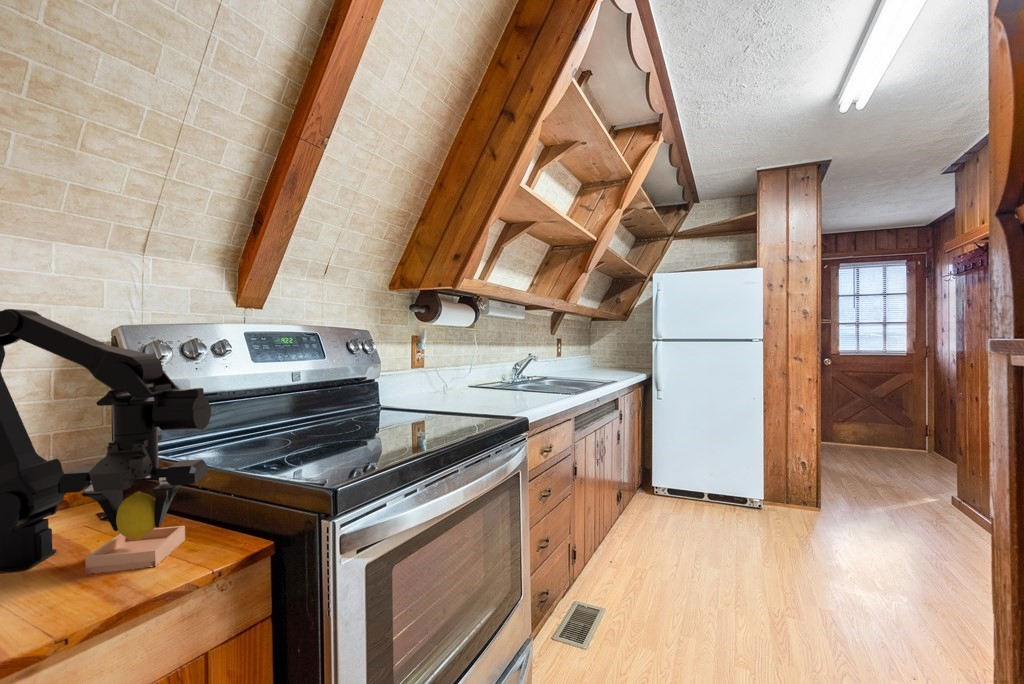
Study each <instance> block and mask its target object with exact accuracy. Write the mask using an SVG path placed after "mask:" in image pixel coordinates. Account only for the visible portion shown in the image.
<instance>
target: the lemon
mask: <svg viewBox="0 0 1024 684" xmlns="http://www.w3.org/2000/svg"><path fill="white" fill-rule="evenodd" d="M155 500H156V497H155V496H152V495H150V494H148V493H144V492H142V491H140V490H139V491H135V492H134V493H132V494H131V495H130V496H127V497H126V498H125V499H123V502H122V503H121V505H120V506H119V508H118V511H117V516H116V524H117V528H118V532H119V534H122V535H123V536H125V537H127V538H132V539H134V540H135V541H140V540H141V539H142V538H143V537H144V536H145V535H147V534H149V533H150V532H151V531H152V530H153V529H154V528H156V526H155Z"/></svg>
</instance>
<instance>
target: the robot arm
mask: <svg viewBox="0 0 1024 684" xmlns="http://www.w3.org/2000/svg"><path fill="white" fill-rule="evenodd" d="M19 341H23V342H26V343H28V344H29V345H33V346H35V347H38V348H40V349H42V350H44V351H47V352H49V353H51V354H53V355H56V356H58V357H60V358H63V359H65V360H68V361H70V362H73V363H75V364H77V365H79V366H81V367H82V368H85V369H86V370H88V371H89V373H90V374H91V376H92V377H93V378H94V379H95V380H97V381H98V382H100V383H102V384H103V385H104V386H106V387H108V388H110V389H111V390H108V391H107V393H106V394H105V395H104V396H103V397H101V398H100V399H98V400H97V401H96V403H95V404H96V405H97V406H99V407H101V406H105V407H106V406H109V407H110V406H112V409H111V410H112V438H113V439H112V441H110V442H108V446H107V452H106V455H105V456H104V457H102V458H101V459H99V461H98V462H97V463H96V464H95V465H91V466H90V465H88V466H80V467H77V468H75V469H73V470H70V471H68V472H66V473H65V472H64V470H63V468H62V463H61V461H60V460H59V459H58V458H57V457H56V458H54V459H49V460H47V459H45V458H43V457H42V456H41V455H39V454H38V453H37V451H36V449H35V447H34V444H33V442H32V440H31V437H30V436H29V434H28V431H27V429H26V427H25V425H24V422H23V419H22V417H21V414H20V413H19V411H18V408H17V406H16V404H15V402H14V399H13V397H12V395H11V393H10V391H9V388H8V387H7V383H6V381H5V379H4V376H3V375H2V371H1V370H2V367H3V363H4V360H5V357H6V351H5V347H7V346H9V345H12V344H16V343H17V342H19ZM163 368H164V367H163V365H162V360H160V359H159V358H158V357H157V356H155V355H152V354H149V353H146V352H143V351H139V350H138V351H137V350H133V349H128V348H123V347H117V346H114V345H110V344H106V343H104V342H101V341H100V340H97V339H94V338H93V337H91V336H88V335H86V334H83V333H81V332H80V331H76V330H74V329H72V328H69V327H68V326H65V325H64V324H61V323H59V322H56V321H53V320H51V319H49V318H46V317H44V316H42V315H41V314H40V313H38V312H37V311H35V310H30V309H19V308H18V309H15V308H6V309H2V310H0V573H3V572H4V573H6V572H13V571H14V572H15V571H26V570H28V569H31V568H33V567H34V566H36V565H38V564H39V563H41V562H43V561H44V560H47V559H48V558H49V557H51V556H52V555H54V554H56V553H57V549H56V548H53V530H52V527H50V526H49V525H50V524H49V518H48V517H50V516H53V515H55V514H56V513H57V510H58V508H59V506H60V504H61V502H62V501H63V500H64V499H65V496H66V494H71V493H81V492H82V493H81V496H82V497H83V498H90V499H92V500H94V501H96V502H97V504H98V505H99V506H100V508H101V509H102V512H103V513H104V515H105V517H106V518H107V520H108V522H109V524H110V526H111V528H112V530H113V531H114V532H119V530H118V528H117V524H116V516H117V511H118V508H119V506H120V505H121V503H122V502H123V501H124V498H123V494H124V491H126V490H128V489H130V488H131V487H132V486H133V485H134V483H135V482H140V481H141V482H142V481H157V480H158V483H159V484H158V485H157V486H155V487H154V488H152V489H151V490H152V492H153V495H154V498H155V526H156V527H155V528H161V526H162V525H163V522H164V520H165V517H166V515H167V512H168V510H169V508H170V505H171V503H172V501H173V499H174V497H175V495H176V493H177V491H178V490H179V487H181V486H182V485H184V486H185V485H186V486H187V485H192V484H196V483H197V482H199V481H200V480H202V479H203V478H204V477H206V476H208V464H207V463H206V461H204V459H203V458H202V459H189V460H188V459H187V460H185V459H184V460H179V461H178V462H175V463H173V464H172V465H170V466H167V467H160V466H162V465H163V458H161V457H160V458H159V442H161V441H162V433H159V432H158V430H159V429H160V430H161V431H162V432H171V431H172V432H173V431H174V432H175V431H176V432H177V431H202V430H205V429H206V428H207V427H208V425H209V422H210V421H211V416H212V406H211V405H210V402H209V399H208V397H207V396H206V395H205V393H204V392H205V391H204V388H203V387H194V388H188V389H179V387H178V386H177V385H176V384H175V383H174V382H173V380H171V378H170V377H169V376H168V374H167V373H166V372H165V371H164V369H163ZM158 428H159V429H158Z"/></svg>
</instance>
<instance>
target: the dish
mask: <svg viewBox="0 0 1024 684" xmlns="http://www.w3.org/2000/svg"><path fill="white" fill-rule="evenodd" d="M185 540H186V526H185V525H177V526H176V525H175V526H166V527H157V528H156V527H155V528H154V529H153V530H152V531H151V532H150V533H149V534H147V535H145V536H144V537H143V538H142V539H141V540H140V541H135V540H134V539H132V538H127V537H125V536H123V535H122V534H121V533H119V534H118V535H117V536H114V537H113V538H112V539H110V540H109V541H107V542H106V543H104V544H103V545H101V546H100V547H99V548H97V549H96V550H95V551H93V552H91V553H90V554H89V555H87V556H86V557H85V558H84V560H85V561H84V562H85V575H92V574H91V573H94V574H100V573H101V572H103V573H112V572H119V570H122V571H127V570H126V569H132V570H136V569H135V568H141V569H145V568H144V567H150V566H156V565H157V564H158V563H159V564H160V562H161V561H162V560H163V559H164V558H165V557H166V556H167V557H168V556H169V555H170V554H172V553H173V552H174V551H175V550H176V549H177V548H178V547H180V546H181V544H182V543H183V542H184V541H185ZM172 551H173V552H172ZM167 557H166V558H167ZM166 558H165V559H166ZM165 559H164V560H165ZM164 560H163V561H164ZM163 561H162V562H163ZM162 562H161V563H162ZM159 564H158V565H159ZM158 565H157V566H158ZM157 566H156V567H157ZM101 574H102V573H101Z"/></svg>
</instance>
